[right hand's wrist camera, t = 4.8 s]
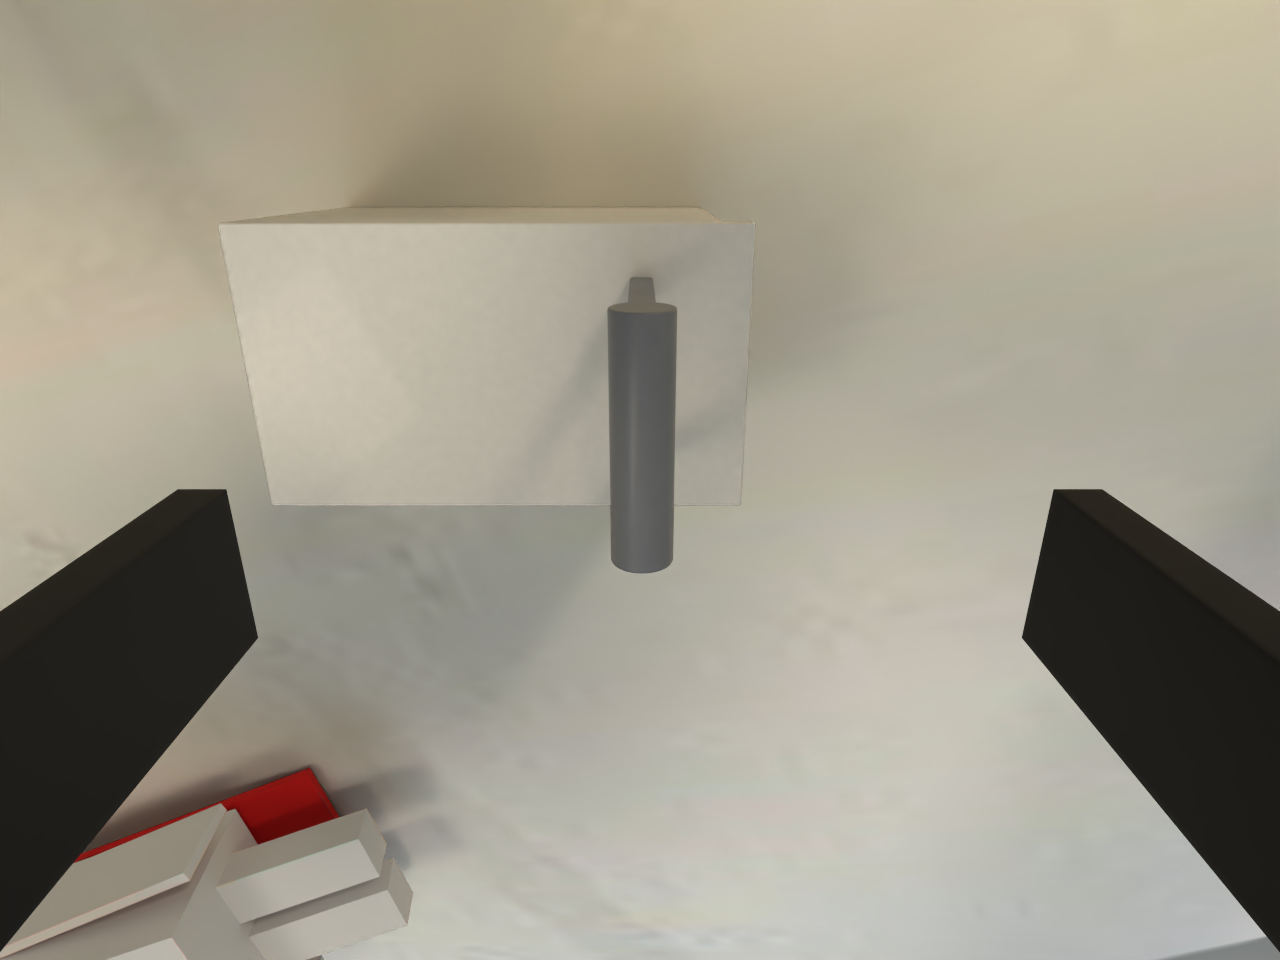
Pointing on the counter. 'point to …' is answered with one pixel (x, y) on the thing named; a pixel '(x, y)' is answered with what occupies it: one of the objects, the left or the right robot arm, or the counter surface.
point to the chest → (499, 214)
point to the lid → (500, 365)
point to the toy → (226, 886)
